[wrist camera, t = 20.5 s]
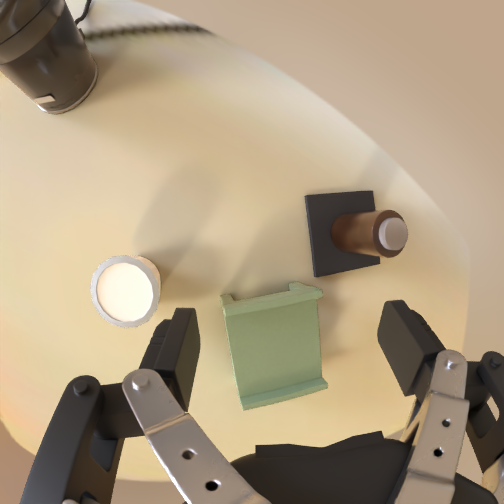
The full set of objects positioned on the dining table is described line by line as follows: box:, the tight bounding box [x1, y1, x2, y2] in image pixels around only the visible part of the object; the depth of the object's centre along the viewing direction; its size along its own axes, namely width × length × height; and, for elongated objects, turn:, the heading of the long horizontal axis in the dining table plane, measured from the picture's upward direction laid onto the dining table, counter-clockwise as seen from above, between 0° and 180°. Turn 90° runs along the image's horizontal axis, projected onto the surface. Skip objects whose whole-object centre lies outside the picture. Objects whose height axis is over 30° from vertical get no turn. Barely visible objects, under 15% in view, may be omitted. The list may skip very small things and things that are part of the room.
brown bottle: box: [331, 210, 408, 258], centre depth 31 cm, size 5×5×10 cm
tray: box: [220, 282, 328, 411], centre depth 31 cm, size 12×10×7 cm
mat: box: [305, 191, 380, 277], centre depth 36 cm, size 10×10×1 cm
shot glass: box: [90, 255, 161, 328], centre depth 28 cm, size 7×7×7 cm
